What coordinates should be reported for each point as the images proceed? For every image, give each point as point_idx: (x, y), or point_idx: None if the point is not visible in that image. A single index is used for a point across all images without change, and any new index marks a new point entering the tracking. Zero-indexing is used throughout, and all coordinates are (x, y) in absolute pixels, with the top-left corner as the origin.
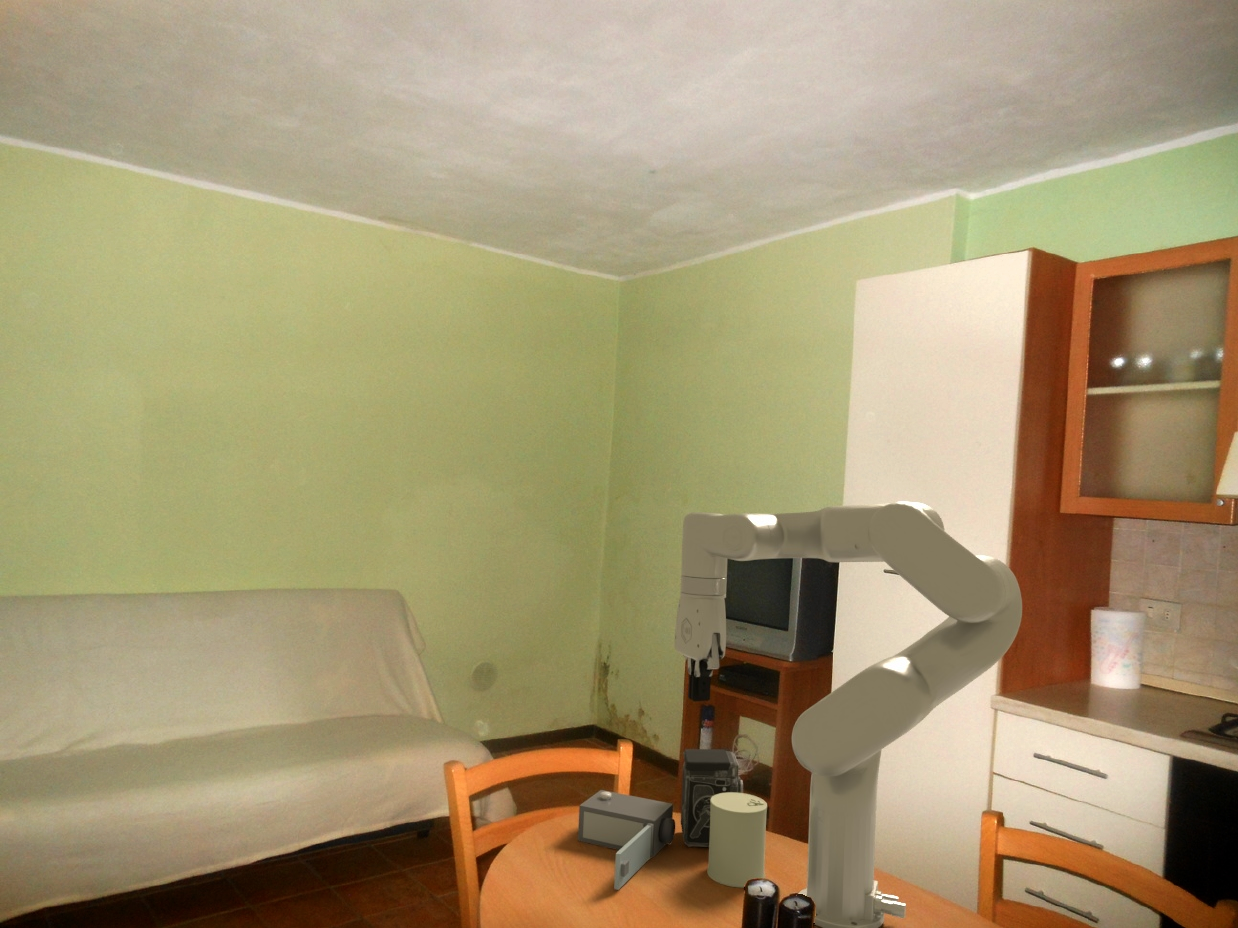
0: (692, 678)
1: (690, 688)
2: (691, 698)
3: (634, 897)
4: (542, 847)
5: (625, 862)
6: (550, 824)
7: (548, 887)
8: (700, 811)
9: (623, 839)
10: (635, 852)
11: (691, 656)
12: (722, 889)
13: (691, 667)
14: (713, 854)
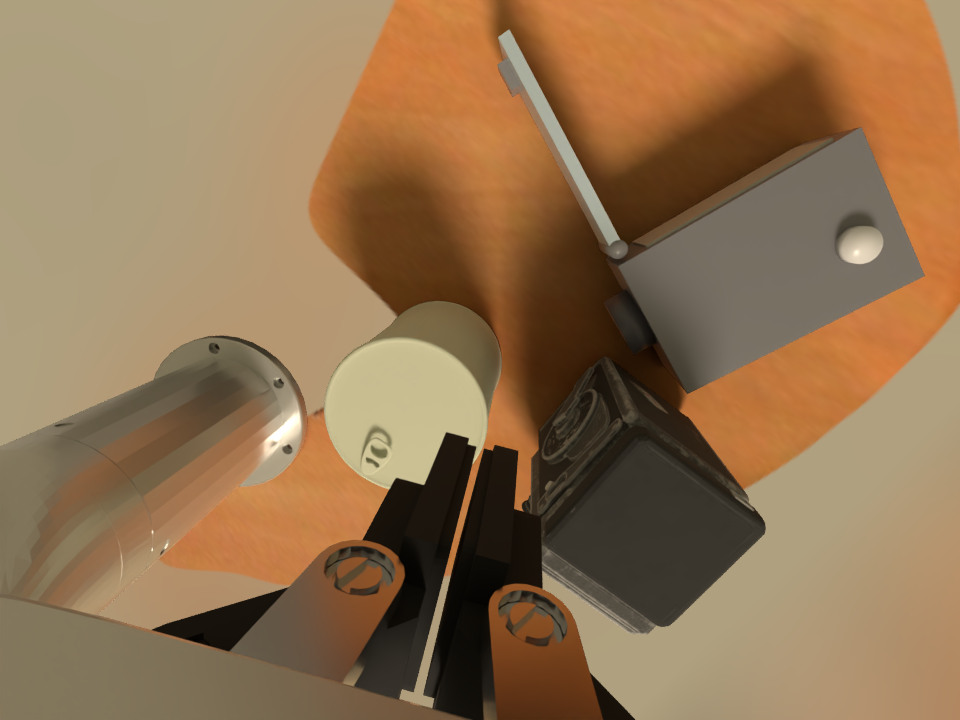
0: (425, 523)
1: (490, 486)
2: (462, 437)
3: (463, 85)
4: (831, 20)
5: (508, 75)
6: (950, 131)
7: None
8: (583, 406)
9: (684, 213)
10: (553, 148)
11: (129, 635)
12: (401, 288)
13: (489, 644)
14: (440, 313)
